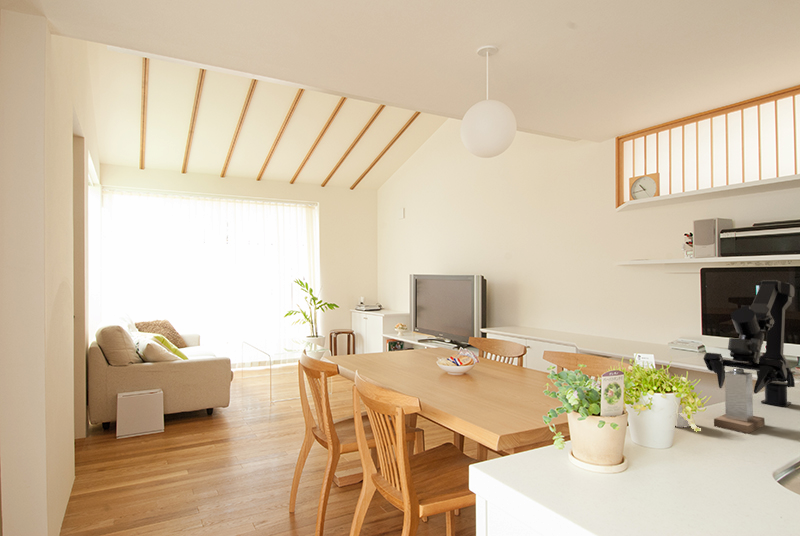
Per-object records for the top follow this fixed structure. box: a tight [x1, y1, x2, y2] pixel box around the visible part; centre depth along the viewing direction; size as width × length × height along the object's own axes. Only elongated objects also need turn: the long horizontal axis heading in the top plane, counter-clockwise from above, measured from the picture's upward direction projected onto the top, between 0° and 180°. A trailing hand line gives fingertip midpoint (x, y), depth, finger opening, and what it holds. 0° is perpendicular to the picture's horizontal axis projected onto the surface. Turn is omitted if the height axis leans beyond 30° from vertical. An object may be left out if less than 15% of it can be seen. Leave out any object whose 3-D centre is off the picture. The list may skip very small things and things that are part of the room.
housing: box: [724, 368, 754, 422], centre depth 134 cm, size 5×5×14 cm
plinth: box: [713, 413, 766, 434], centre depth 134 cm, size 12×8×2 cm, turn 126°
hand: (737, 389), depth 133 cm, fingers open, 8 cm apart
